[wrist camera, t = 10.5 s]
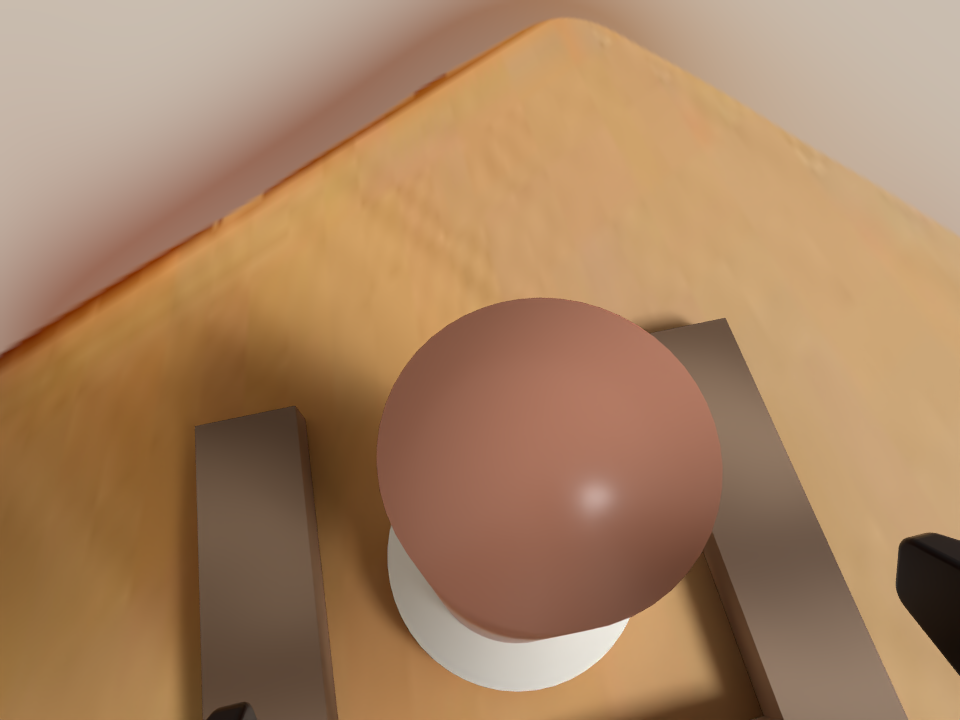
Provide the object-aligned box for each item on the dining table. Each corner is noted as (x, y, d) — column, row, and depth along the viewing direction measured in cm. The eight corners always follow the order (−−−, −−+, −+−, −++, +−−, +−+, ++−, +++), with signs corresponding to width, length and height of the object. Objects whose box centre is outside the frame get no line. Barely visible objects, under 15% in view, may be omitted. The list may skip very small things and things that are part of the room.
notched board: (970, 922, 14) (1010, 944, 13) (237, 1155, 13) (216, 1201, 12) (712, 335, 21) (725, 318, 20) (210, 438, 20) (195, 426, 18)
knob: (588, 735, 16) (745, 853, 7) (350, 624, 17) (194, 590, 8) (659, 489, 19) (840, 325, 9) (450, 408, 20) (424, 189, 11)
